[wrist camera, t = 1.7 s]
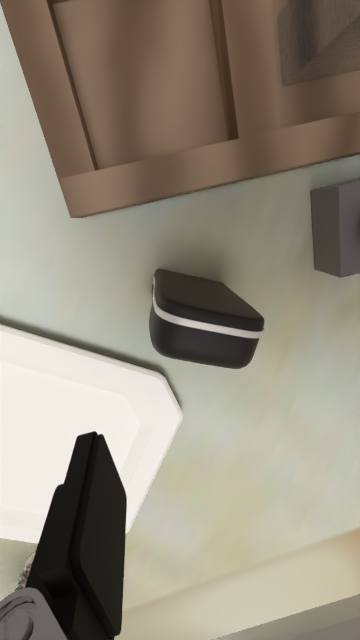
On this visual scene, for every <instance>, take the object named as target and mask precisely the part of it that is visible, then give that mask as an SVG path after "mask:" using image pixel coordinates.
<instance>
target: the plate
mask: <svg viewBox="0 0 360 640" xmlns="http://www.w3.org/2000/svg"><path fill="white" fill-rule="evenodd" d="M182 418H183V412H182V410H181V408H180V406H179V404H178V402H177V400H176V398H175V396H174V394H173V392H172V390H171V388H170V386H169V384H168V382H167V380H166V378H165V377H164V376H163V375H161V374H160V373H159V372H156V371H153V370H150V369H146V368H143V367H140V366H137V365H133V364H130V363H127V362H123V361H120V360H117V359H114V358H110V357H107V356H104V355H100V354H97V353H94V352H91V351H87V350H84V349H81V348H77V347H74V346H71V345H68V344H64V343H61V342H58V341H54V340H51V339H48V338H45V337H41V336H38V335H35V334H32V333H28V332H25V331H22V330H18V329H15V328H12V327H9V326H5V325H2V324H0V538H4V539H11V540H17V541H24V542H30V543H37V544H38V543H39V540H40V537H41V533H42V530H43V527H44V524H45V520H46V517H47V514H48V511H49V507H50V504H51V501H52V498H53V494H54V492H55V489H56V487H57V486H58V485H60V484H64V481H65V477H66V473H67V470H68V466H69V463H70V459H71V456H72V452H73V449H74V445H75V442H76V438H77V436H78V435H82V434H85V433H89V432H93V431H96V432H97V434H98V435H99V434H103V436H104V438H105V440H106V443H107V445H108V448H109V451H110V453H111V456H112V458H113V461H114V463H115V466H116V468H117V471H118V474H119V476H120V479H121V481H122V484H123V486H124V489H125V492H126V497H127V510H126V533H125V534H127V533H128V532H129V530H130V528H131V526H132V524H133V522H134V520H135V518H136V516H137V514H138V512H139V509H140V507H141V505H142V503H143V501H144V499H145V497H146V495H147V493H148V491H149V488H150V486H151V484H152V482H153V480H154V478H155V476H156V474H157V472H158V470H159V467H160V465H161V463H162V461H163V459H164V457H165V455H166V453H167V451H168V449H169V446H170V444H171V442H172V440H173V438H174V436H175V434H176V432H177V430H178V428H179V425H180V423H181V421H182Z"/></svg>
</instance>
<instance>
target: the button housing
mask: <svg viewBox="0 0 360 640" xmlns="http://www.w3.org/2000/svg"><path fill="white" fill-rule="evenodd" d="M310 192H311V210H312V228H313V247H314V265H315V270H318V271H322V272H325V273H328V274H331V275H334V276H338V277H345V276H349V275H353V274H358V273H360V179H359V180H355V181H351V182H346V183H342V184H338V185H333V186H329V187H325V188H320V189H316V190H312V191H310Z"/></svg>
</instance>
